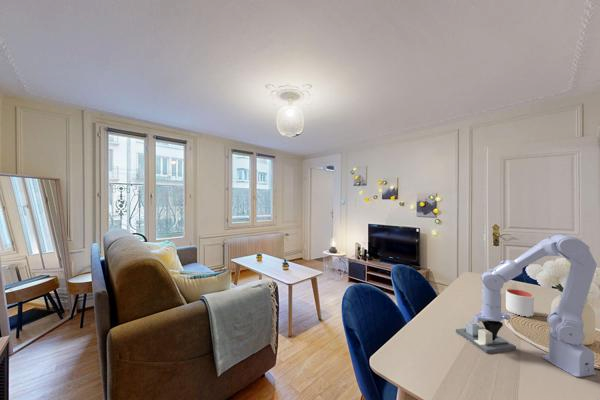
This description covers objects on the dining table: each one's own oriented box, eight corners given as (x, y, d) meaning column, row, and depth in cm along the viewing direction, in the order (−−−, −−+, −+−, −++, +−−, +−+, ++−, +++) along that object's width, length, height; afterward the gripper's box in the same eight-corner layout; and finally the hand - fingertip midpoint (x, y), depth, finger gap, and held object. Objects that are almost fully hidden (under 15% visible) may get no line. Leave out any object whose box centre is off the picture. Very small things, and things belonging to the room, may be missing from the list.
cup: (539, 319, 108) (539, 298, 108) (514, 317, 110) (514, 296, 110) (523, 309, 117) (523, 289, 117) (501, 307, 119) (501, 288, 119)
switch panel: (516, 349, 86) (516, 345, 86) (486, 353, 84) (486, 348, 84) (482, 329, 99) (482, 325, 99) (455, 332, 97) (455, 328, 97)
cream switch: (492, 343, 87) (492, 332, 87) (485, 344, 86) (485, 333, 86) (484, 339, 90) (484, 328, 90) (478, 339, 89) (478, 328, 89)
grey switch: (479, 335, 92) (479, 324, 92) (472, 335, 92) (472, 325, 92) (472, 331, 95) (472, 320, 95) (466, 331, 95) (466, 321, 95)
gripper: (496, 298, 94) (496, 331, 94) (466, 300, 91) (465, 334, 91) (515, 306, 87) (515, 341, 87) (482, 308, 84) (482, 345, 84)
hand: (491, 338), depth 89 cm, fingers closed
